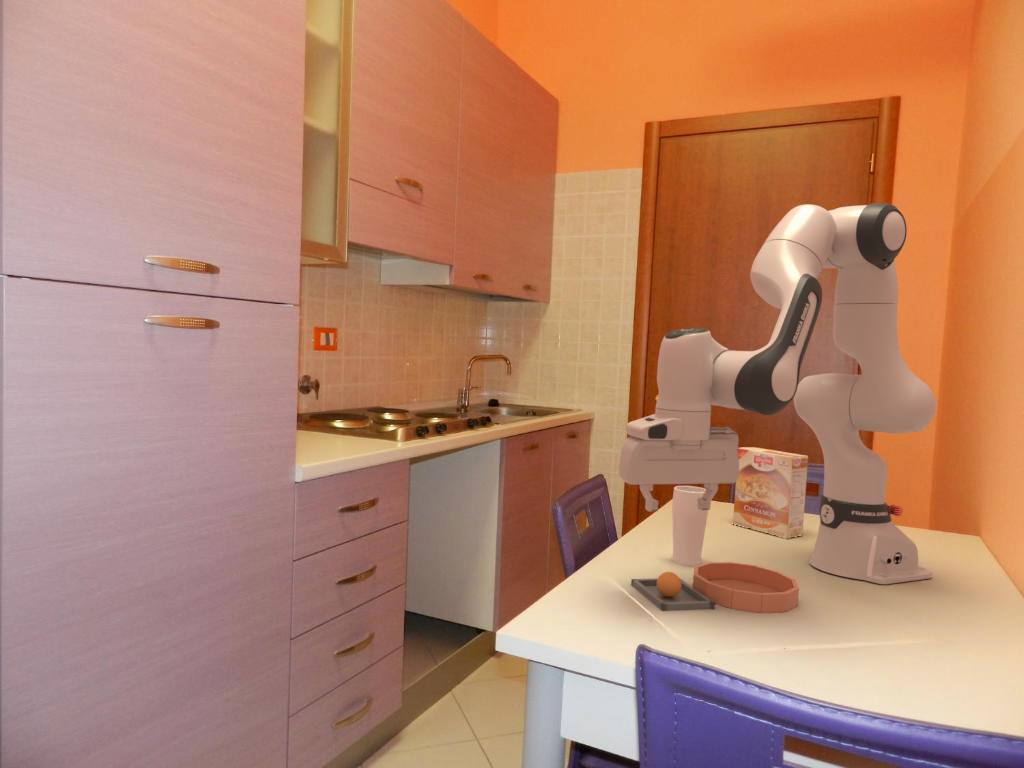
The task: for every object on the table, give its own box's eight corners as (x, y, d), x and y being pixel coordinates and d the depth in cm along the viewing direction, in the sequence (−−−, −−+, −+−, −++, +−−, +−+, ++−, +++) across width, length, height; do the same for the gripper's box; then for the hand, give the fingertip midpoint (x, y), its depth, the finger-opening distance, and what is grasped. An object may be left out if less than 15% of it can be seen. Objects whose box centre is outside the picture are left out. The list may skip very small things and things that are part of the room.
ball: (676, 587, 115) (671, 565, 114) (688, 596, 111) (683, 573, 110) (655, 595, 114) (650, 573, 113) (666, 604, 110) (661, 581, 109)
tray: (678, 586, 119) (678, 577, 119) (714, 612, 107) (714, 602, 107) (630, 588, 117) (631, 579, 117) (662, 614, 105) (662, 604, 105)
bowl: (757, 579, 126) (758, 561, 125) (818, 614, 109) (820, 592, 109) (675, 582, 122) (676, 562, 121) (726, 618, 105) (727, 595, 105)
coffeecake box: (731, 525, 169) (736, 447, 168) (748, 522, 173) (753, 446, 173) (786, 539, 157) (792, 456, 156) (803, 536, 161) (809, 455, 161)
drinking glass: (705, 572, 129) (710, 493, 128) (669, 567, 130) (674, 490, 129) (702, 561, 135) (707, 487, 135) (668, 558, 137) (672, 484, 136)
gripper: (728, 425, 117) (724, 504, 117) (617, 424, 112) (613, 506, 113) (749, 429, 111) (744, 513, 111) (632, 428, 106) (628, 516, 107)
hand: (677, 510), depth 112 cm, fingers open, 8 cm apart
